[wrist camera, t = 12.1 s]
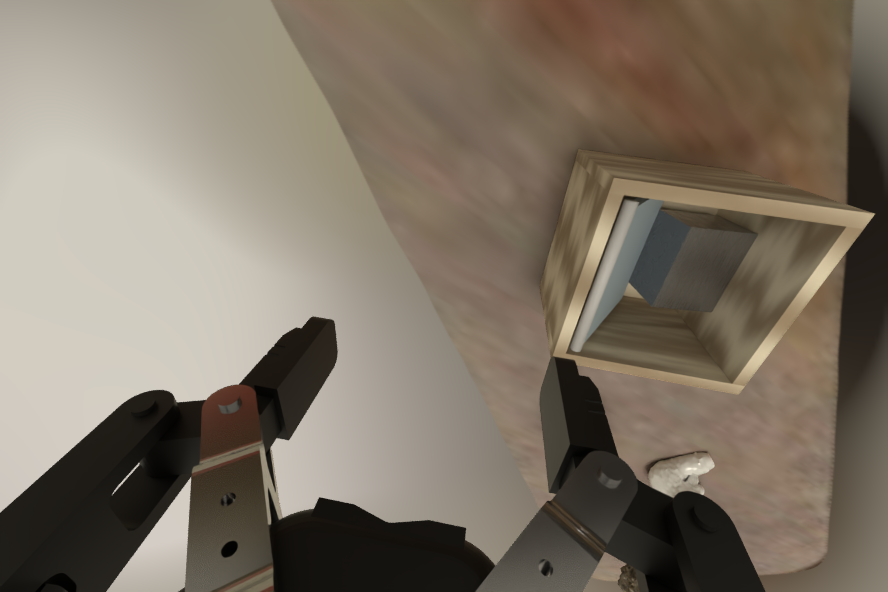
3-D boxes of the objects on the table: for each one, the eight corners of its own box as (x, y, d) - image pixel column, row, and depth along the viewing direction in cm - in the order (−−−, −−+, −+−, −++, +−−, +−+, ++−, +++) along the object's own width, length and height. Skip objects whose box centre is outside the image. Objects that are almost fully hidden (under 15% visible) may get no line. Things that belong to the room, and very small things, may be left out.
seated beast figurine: (698, 488, 57) (739, 575, 47) (640, 485, 59) (667, 568, 48) (711, 450, 52) (760, 537, 42) (648, 447, 54) (680, 530, 44)
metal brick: (690, 227, 29) (758, 234, 30) (659, 209, 34) (718, 215, 34) (651, 306, 33) (711, 312, 34) (628, 281, 38) (681, 286, 38)
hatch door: (622, 199, 24) (637, 203, 24) (661, 179, 33) (673, 182, 33) (567, 348, 31) (578, 353, 30) (612, 298, 40) (621, 301, 39)
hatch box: (578, 149, 35) (614, 177, 23) (745, 171, 34) (875, 213, 22) (539, 286, 43) (551, 360, 31) (673, 309, 42) (738, 394, 30)
